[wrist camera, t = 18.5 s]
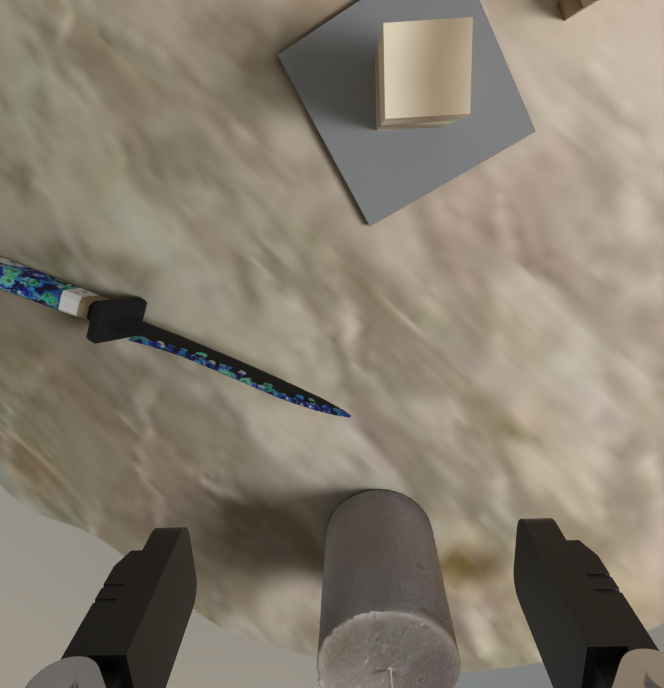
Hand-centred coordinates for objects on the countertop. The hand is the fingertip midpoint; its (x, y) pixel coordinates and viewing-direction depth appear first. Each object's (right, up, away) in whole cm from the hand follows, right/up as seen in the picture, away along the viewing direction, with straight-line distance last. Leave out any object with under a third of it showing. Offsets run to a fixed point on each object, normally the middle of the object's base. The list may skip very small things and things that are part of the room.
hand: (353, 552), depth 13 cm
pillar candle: (+4, -12, +35) cm, 37 cm away
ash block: (+5, +22, +23) cm, 32 cm away
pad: (+5, +22, +24) cm, 33 cm away
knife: (-13, +6, +29) cm, 32 cm away
